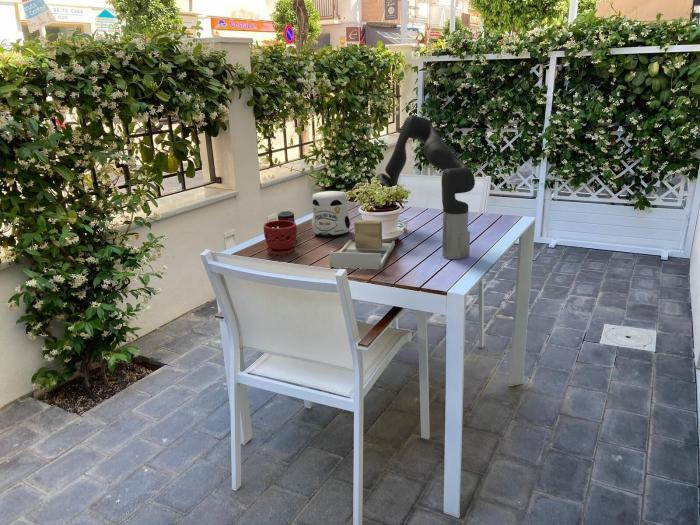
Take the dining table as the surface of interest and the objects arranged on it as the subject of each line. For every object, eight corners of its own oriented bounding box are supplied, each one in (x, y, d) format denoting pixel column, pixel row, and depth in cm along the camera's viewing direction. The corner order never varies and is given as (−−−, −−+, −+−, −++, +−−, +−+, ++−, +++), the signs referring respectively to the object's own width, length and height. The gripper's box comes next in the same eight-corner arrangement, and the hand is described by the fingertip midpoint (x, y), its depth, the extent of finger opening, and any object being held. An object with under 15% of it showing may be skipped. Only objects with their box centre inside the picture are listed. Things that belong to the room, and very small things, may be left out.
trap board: (349, 244, 225) (349, 230, 223) (394, 245, 220) (394, 231, 218) (329, 267, 197) (329, 252, 196) (380, 270, 193) (380, 254, 191)
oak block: (358, 244, 220) (357, 220, 217) (382, 244, 218) (381, 220, 215) (355, 247, 216) (354, 223, 212) (379, 248, 213) (379, 223, 210)
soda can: (299, 238, 236) (297, 211, 232) (289, 242, 231) (287, 215, 227) (286, 236, 240) (284, 210, 236) (276, 241, 234) (274, 213, 230)
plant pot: (268, 258, 211) (265, 229, 207) (263, 249, 223) (261, 221, 219) (301, 254, 214) (299, 225, 210) (295, 245, 226) (292, 218, 222)
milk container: (318, 241, 231) (315, 200, 225) (308, 231, 247) (305, 193, 241) (356, 236, 236) (354, 195, 230) (344, 227, 252) (342, 189, 246)
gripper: (362, 182, 232) (353, 189, 218) (394, 182, 229) (388, 190, 214) (362, 199, 235) (354, 207, 220) (395, 199, 231) (388, 208, 217)
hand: (370, 199), depth 217 cm, fingers open, 8 cm apart
